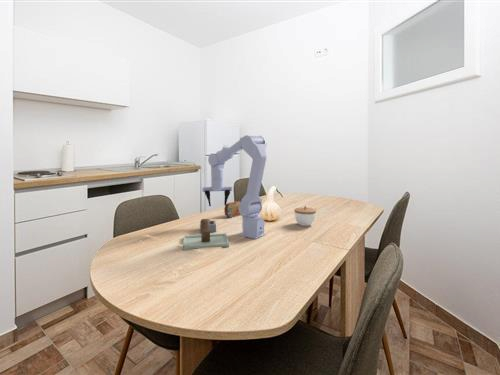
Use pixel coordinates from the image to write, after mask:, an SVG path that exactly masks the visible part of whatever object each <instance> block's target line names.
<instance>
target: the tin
mask: <svg viewBox="0 0 500 375" xmlns="http://www.w3.org/2000/svg"><path fill="white" fill-rule="evenodd" d="M240 203H241V200H235V201H232V202H228V203H226V206H225V205H224V209H223V210H224V216H226V217H227V218H230V219H233V218H235V216H236V217H238V216H239V217H240V216H241V214H240V213H239V204H240ZM232 217H233V218H232Z"/></svg>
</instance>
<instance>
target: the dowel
mask: <svg viewBox="0 0 500 375" xmlns="http://www.w3.org/2000/svg"><path fill="white" fill-rule="evenodd" d="M200 221H201V233H200V235H201V242H210V234H211V232H210V221H211V220H210V219H209V218H201V219H200Z"/></svg>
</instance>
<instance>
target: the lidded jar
mask: <svg viewBox="0 0 500 375" xmlns="http://www.w3.org/2000/svg"><path fill="white" fill-rule="evenodd" d="M316 213H317V211H316V208H312V207H307V206H304V207H296V208H294V219H295V221H296V223H297V224H298V225H299V226H301V227H302V226H303V227H310V226H311V225H312V224H313V223H314V222H315V220H316V216H317V214H316Z"/></svg>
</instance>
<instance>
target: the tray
mask: <svg viewBox="0 0 500 375" xmlns="http://www.w3.org/2000/svg"><path fill="white" fill-rule="evenodd" d="M213 247H220V248H230V242H229V239H228V235H227V233H210V242H201V234H194V235H193V234H191V235H184V236H183V242H182V250H183V251H188V250H199V249H200V248H213Z"/></svg>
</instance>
